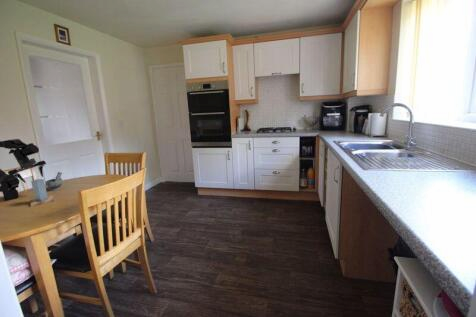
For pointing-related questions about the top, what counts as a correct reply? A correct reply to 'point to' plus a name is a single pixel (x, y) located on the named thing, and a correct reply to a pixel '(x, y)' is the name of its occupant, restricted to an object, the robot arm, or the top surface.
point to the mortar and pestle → (55, 182)
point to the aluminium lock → (39, 190)
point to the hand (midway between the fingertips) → (34, 179)
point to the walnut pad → (34, 202)
